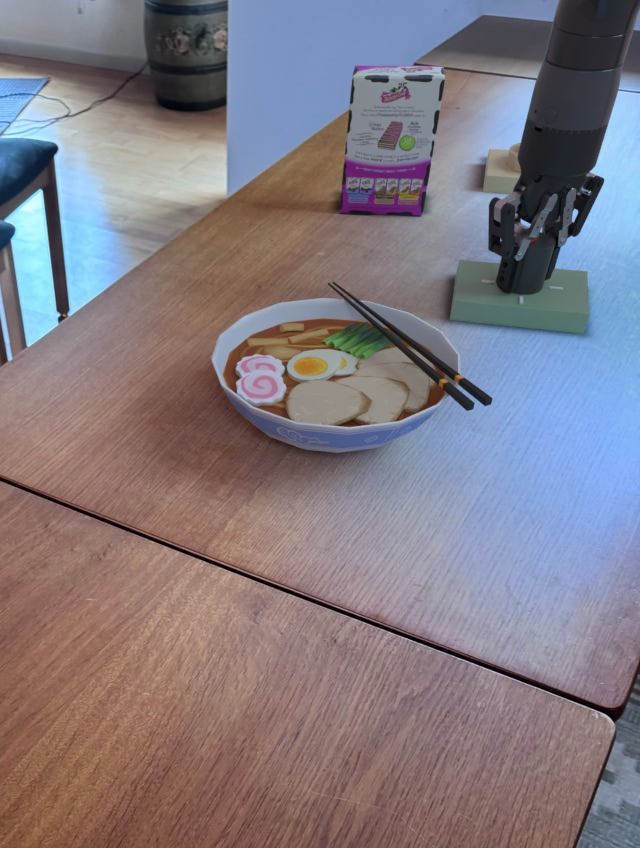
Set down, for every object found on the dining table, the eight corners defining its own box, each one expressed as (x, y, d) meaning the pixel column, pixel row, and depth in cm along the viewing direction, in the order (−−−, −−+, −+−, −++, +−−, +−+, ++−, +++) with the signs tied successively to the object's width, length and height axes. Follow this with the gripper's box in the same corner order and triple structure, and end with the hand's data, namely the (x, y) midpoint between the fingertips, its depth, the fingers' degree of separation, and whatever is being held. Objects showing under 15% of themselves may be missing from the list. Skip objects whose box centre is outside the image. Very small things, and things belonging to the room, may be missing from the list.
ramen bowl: (171, 387, 94) (169, 313, 88) (365, 340, 99) (376, 267, 93) (278, 532, 78) (284, 453, 72) (503, 467, 83) (526, 389, 77)
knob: (521, 272, 102) (534, 224, 98) (551, 287, 100) (565, 239, 96) (492, 282, 101) (504, 234, 97) (522, 298, 98) (535, 249, 94)
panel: (579, 296, 104) (587, 269, 102) (581, 340, 98) (590, 312, 95) (454, 284, 107) (459, 258, 105) (447, 326, 101) (453, 298, 98)
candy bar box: (422, 202, 123) (446, 64, 111) (422, 217, 120) (447, 77, 108) (339, 199, 125) (353, 62, 113) (337, 214, 121) (352, 75, 109)
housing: (573, 171, 129) (581, 140, 126) (574, 199, 122) (583, 167, 119) (485, 164, 131) (492, 135, 128) (482, 192, 125) (489, 161, 122)
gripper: (593, 88, 92) (545, 255, 104) (485, 116, 87) (449, 286, 100) (653, 109, 87) (596, 280, 100) (542, 140, 83) (497, 315, 96)
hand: (522, 283), depth 100 cm, fingers closed on knob, 4 cm apart
